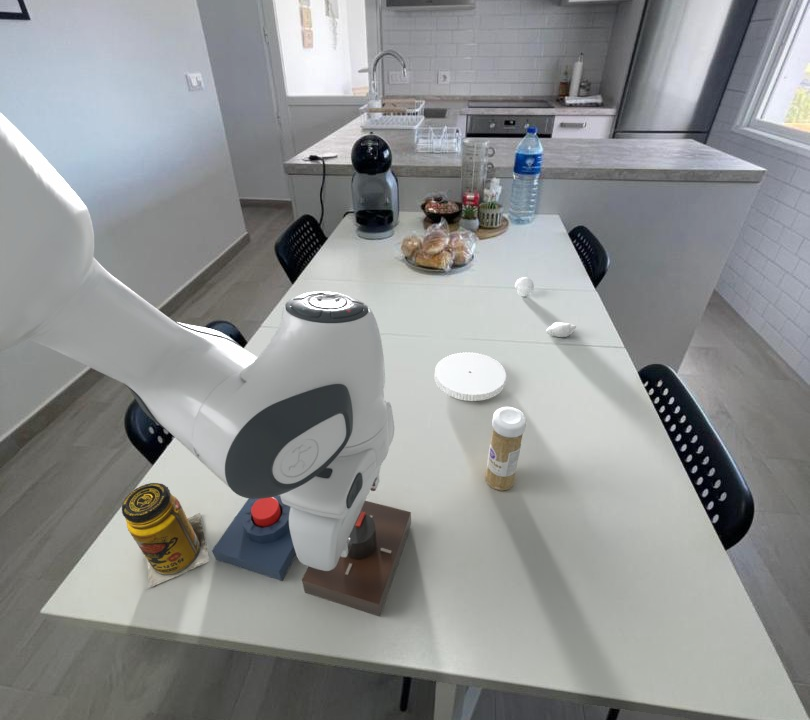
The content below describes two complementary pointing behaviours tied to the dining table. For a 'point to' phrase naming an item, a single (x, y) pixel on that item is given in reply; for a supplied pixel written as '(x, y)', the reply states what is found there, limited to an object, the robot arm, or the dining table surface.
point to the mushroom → (524, 286)
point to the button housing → (258, 543)
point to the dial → (363, 537)
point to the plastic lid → (470, 376)
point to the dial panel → (365, 565)
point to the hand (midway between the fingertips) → (357, 516)
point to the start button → (265, 511)
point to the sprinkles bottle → (504, 447)
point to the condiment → (164, 532)
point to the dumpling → (561, 329)
